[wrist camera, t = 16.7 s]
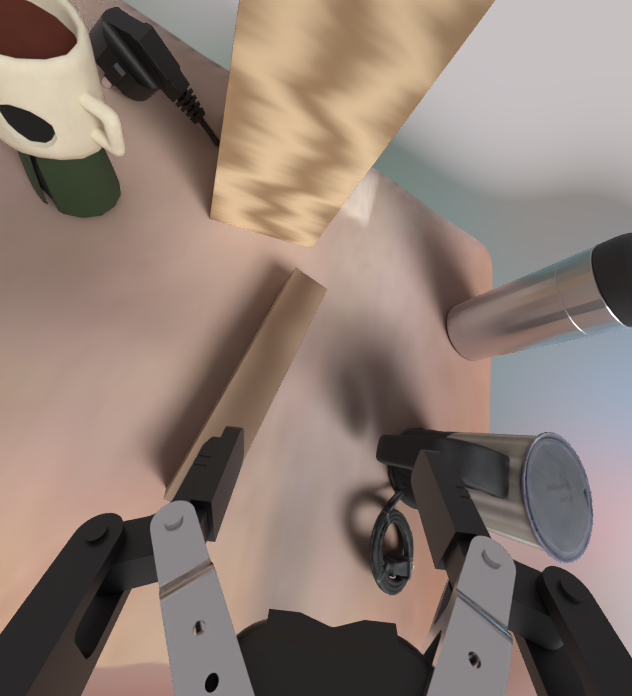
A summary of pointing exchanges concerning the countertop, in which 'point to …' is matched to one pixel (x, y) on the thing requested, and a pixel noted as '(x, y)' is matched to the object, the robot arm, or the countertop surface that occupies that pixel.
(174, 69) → the power plug
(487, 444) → the milk frother
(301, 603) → the countertop surface
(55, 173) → the character mug
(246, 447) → the rod
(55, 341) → the countertop surface
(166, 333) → the countertop surface
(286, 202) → the stand
